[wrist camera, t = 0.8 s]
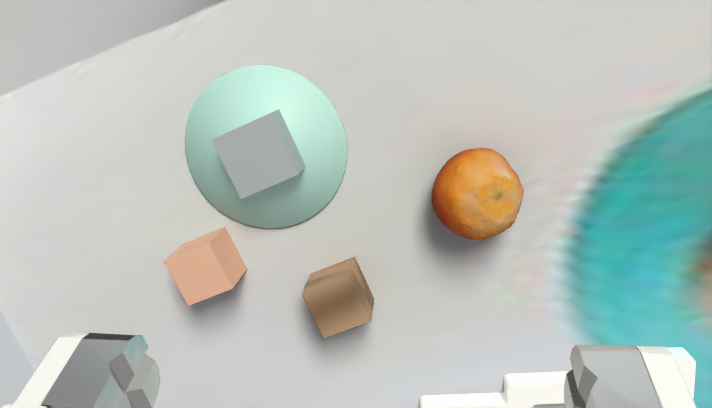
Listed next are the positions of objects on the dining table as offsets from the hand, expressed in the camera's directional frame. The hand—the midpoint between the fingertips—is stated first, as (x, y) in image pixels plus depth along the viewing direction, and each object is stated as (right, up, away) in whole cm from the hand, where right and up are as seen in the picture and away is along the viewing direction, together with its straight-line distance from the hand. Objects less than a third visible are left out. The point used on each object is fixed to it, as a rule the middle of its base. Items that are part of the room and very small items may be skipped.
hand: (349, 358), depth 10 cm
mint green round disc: (-9, +8, +43) cm, 45 cm away
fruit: (+11, +5, +42) cm, 44 cm away
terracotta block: (-14, -3, +47) cm, 49 cm away
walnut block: (-1, -6, +46) cm, 47 cm away
